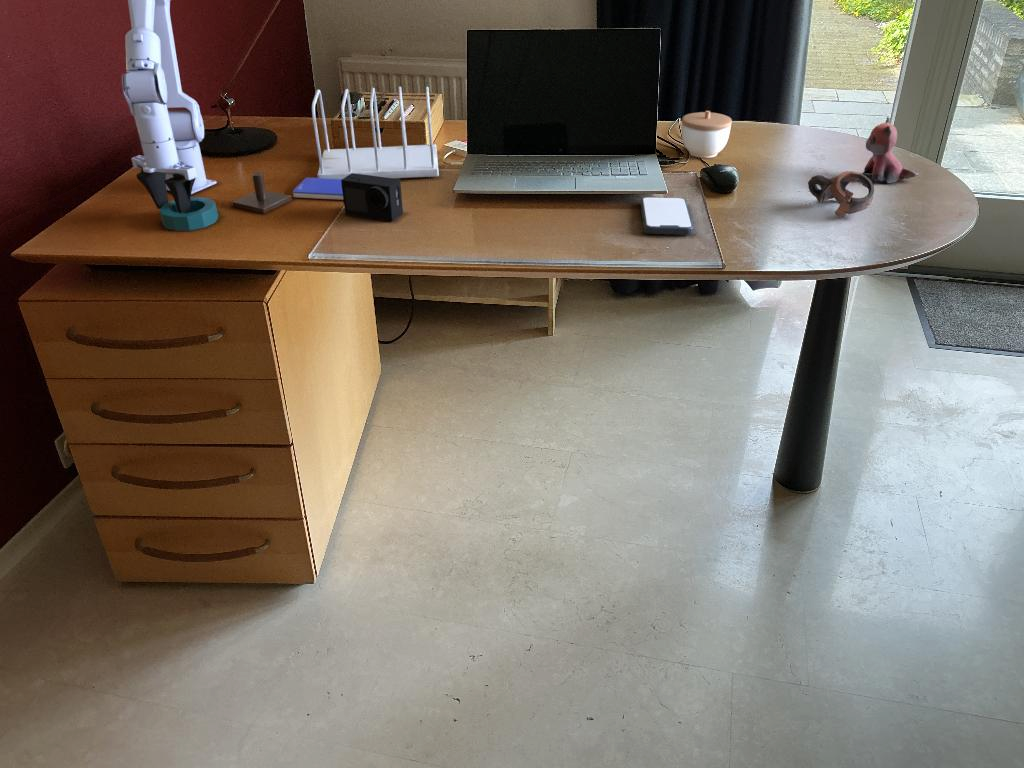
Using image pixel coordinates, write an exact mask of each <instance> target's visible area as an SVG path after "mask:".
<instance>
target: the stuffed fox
mask: <svg viewBox="0 0 1024 768" xmlns="http://www.w3.org/2000/svg"><path fill="white" fill-rule="evenodd" d="M897 139H898V130H897V128H896V126H895V125H893V124H891V118H890V117H889V116H886V120H885V122H884V123H880V124H877V125H876V126H874V128H873V129H872V130H871V131H870V134H869V137H868V138H867V139H866V141H865V149H866V150H867V151H869V152H870V153H872V156H871V157H870V158H869V159H868V161H867V163H866V165H865V167H864V168H863V172H862V174H863V175H872V176H871V179H873V180H874V181H876V182H880V183H886V184H892V183H895V182H898V181H902V180H907V179H911V178H915V177H916V176H919V175H920V174H919V173H917V172H915V171H912V170H910V169H907V168H905V167H903V166H902V164H901V161H899V159H898V158H897V157H896V156H895V155H894V154H893V153H892V149H893V148H894V147H895V145H896V143H897Z"/></svg>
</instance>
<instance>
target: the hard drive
mask: <svg viewBox="0 0 1024 768" xmlns="http://www.w3.org/2000/svg"><path fill="white" fill-rule="evenodd" d="M341 180H342V179H324V178H318V177H305V178H304V179H303V180H302V182H300V183H299V184H298V185H297V186H296V187H295V188H294V189H293V190H292V196H293V198H297V199H298V198H299V199H300V198H301V199H319V200H338V201H339V200H341V201H344V200H343V192H342V184H341Z"/></svg>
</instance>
